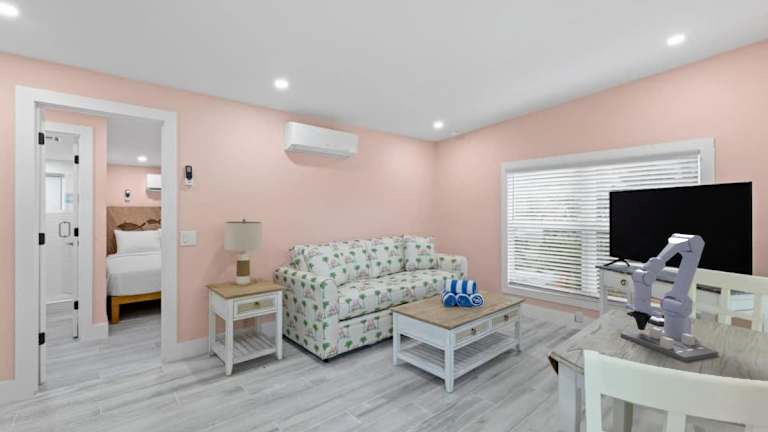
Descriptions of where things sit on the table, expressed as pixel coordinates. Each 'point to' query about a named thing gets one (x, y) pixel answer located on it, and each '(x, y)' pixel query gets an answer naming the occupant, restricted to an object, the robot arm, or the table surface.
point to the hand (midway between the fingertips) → (641, 329)
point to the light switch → (653, 320)
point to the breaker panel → (670, 352)
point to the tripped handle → (655, 333)
